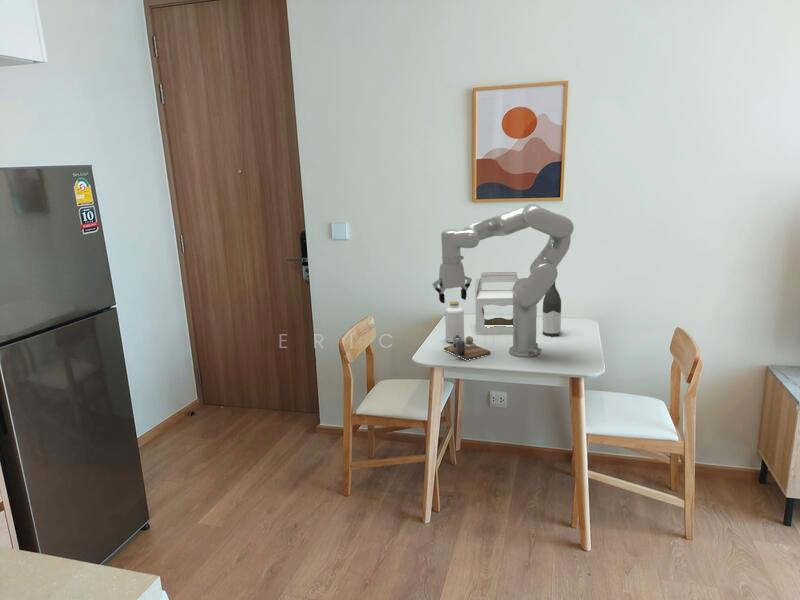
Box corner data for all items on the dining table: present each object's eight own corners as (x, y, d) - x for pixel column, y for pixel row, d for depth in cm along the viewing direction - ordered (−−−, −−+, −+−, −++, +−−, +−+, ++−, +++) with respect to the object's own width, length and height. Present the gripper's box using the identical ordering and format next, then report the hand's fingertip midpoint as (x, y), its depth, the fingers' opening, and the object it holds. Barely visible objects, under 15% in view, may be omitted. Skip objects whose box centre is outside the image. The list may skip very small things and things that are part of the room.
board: (490, 354, 237) (490, 340, 236) (466, 361, 231) (466, 346, 230) (467, 344, 251) (466, 331, 249) (444, 350, 245) (443, 336, 243)
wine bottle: (558, 331, 263) (560, 268, 255) (562, 336, 255) (563, 271, 248) (541, 331, 264) (542, 268, 256) (543, 337, 256) (544, 272, 249)
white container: (465, 338, 259) (464, 300, 255) (462, 344, 252) (461, 305, 247) (447, 337, 262) (446, 300, 257) (444, 343, 254) (443, 304, 249)
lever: (452, 343, 246) (452, 332, 245) (462, 342, 246) (462, 331, 245) (457, 355, 232) (456, 343, 230) (467, 354, 232) (466, 343, 230)
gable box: (475, 334, 264) (474, 275, 257) (475, 326, 277) (474, 270, 270) (524, 334, 262) (524, 274, 255) (521, 325, 274) (522, 269, 267)
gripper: (466, 256, 237) (467, 296, 241) (428, 261, 231) (430, 301, 236) (474, 259, 230) (475, 299, 234) (435, 264, 224) (437, 305, 229)
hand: (453, 300), depth 235 cm, fingers open, 9 cm apart
